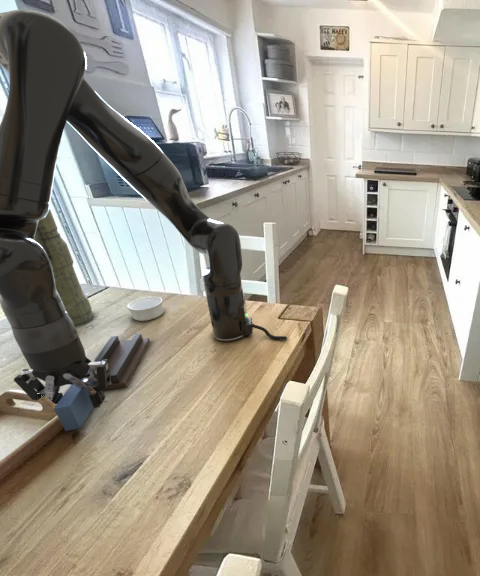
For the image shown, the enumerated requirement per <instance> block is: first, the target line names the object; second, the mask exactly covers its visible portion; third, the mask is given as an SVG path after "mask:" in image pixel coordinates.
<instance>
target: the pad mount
mask: <svg viewBox="0 0 480 576" xmlns="http://www.w3.org/2000/svg"><path fill="white" fill-rule="evenodd" d="M150 343H151V341H150V337H143V335H142V333H134V335H133V336H132V338H131V339H125V340H120V338H119V336H118V335H112V336H110V338H109V339H108V341H107V342H106V343H105V344H104V346H103V347H102V349H101V350H100V351H99V353H98V354H97V355H96V357H95V358H94V359H93V361H92V362H102V360H104V359H107V360H109V362H110V376H111V381H110V383H109V384H108V386H107V388H106V390H104V391H103V392H106V391H112V390H118V389H125V388H127V387H128V385H129V383H130V381H131V379H132V377H133V375H134V374H135V372H136V370H137V368H138V366H139V364H140V362H141V360H142V358H143V357H144V354H145V353H146V351H147V349H148V347H149V345H150ZM89 371H90V372H92V373H93V374H94V373H95V372H94V371H93V369H89ZM94 377H95V378H96V379H97V380H98V378H97V374H94Z"/></svg>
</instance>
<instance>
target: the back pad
mask: <svg viewBox="0 0 480 576" xmlns="http://www.w3.org/2000/svg"><path fill="white" fill-rule="evenodd" d="M82 380H84V378H83V379H82ZM90 385H91V384H90ZM93 409H94V406H93V404H92V402H91V400H90V398H89V393H88V392H86V391H85V390H84V389H79V388H78V387H77V386H76V385H74V384H73V385H70V386H69V387H68V388H67V390H66V391H65V393H64V394H63V397H62V398H61V399H60V401H59V402H58V403H57V405H56V406H55V408H54V410H55V411H54V412H55V414H56V416H57V418H58V420H59V421H60V424H61V426H62V427H63V429H64V431H65V432H69V431H75V430H81V428H82V427H83V426H84V424H85V422H86V420H87V419H88V417H89V415H90V414H91V412H92V410H93Z"/></svg>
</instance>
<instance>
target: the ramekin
mask: <svg viewBox="0 0 480 576" xmlns="http://www.w3.org/2000/svg"><path fill="white" fill-rule="evenodd" d="M163 301H164V300H163V298H162V297H160V296H151V295H150V296H143V297H139V298H136V299H134V300H132V301H130V302H129V303H128V304H127V306H126V308H127V309H128V311H129V313H130V314H131V317H132V318H133V319H134V320H135V321H140V322H144V321H145V322H146V321H150V320H154V319H157V318H159V317H160V316H161V315H163V313H164V305H163Z"/></svg>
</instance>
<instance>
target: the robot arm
mask: <svg viewBox="0 0 480 576" xmlns="http://www.w3.org/2000/svg"><path fill="white" fill-rule="evenodd" d="M87 63H88V62H87V56H86V52H85V49H84V47H83V46H82V44H81V42H80V40H79V39H78V37H77V36H76V34H74V32H73V31H72V30H71V29H70V28H69V27H67V25H65V24H64V23H63V22H62V21H61V20H59V19H58V18H55V17H54V16H52V15H50V14H48V13H44V12H41V11H38V10H33V9H13V10H10V11H9V10H8V11H5V12H4V11H3V12H0V66H1V68H3V70H5V71H6V72H7V73H8V74H9V75H8V76H9V83H8V85H9V86H8V95H7V102H6V105H5V110H4V113H3V116H2V119H1V121H0V307H1V310H2V312H3V313H4V315H5V317H6V319H7V322H8V323H9V325H10V328H11V331H12V335H13V337H14V340H15V341H16V342H15V343H16V344H17V345H18V347H19V349H20V351H21V353H22V355H23V357H24V359H25V361H26V363H27V364H28V366H29V368H30V369H29V368H23V369H22V370H21V371H20V372H19V373H18V374H17V375H16V376H15V377H14V378H13V381H14V383H16V384H17V386H18V387H20V389H21V390H22V391H23V392H24V393H25V394H26V395H27V396H28V397H29V398H30V399H31V400H32V401H39V400H41V399H40V398H41V395H42V396H43V395H44V396H45V399H44V401H46V402H48V401H50V400H51V401H52V402H53V403H55V404H57V403H58V402H59V401H60V399H61V398H62V397H63V395H64V394H63V393H62V392H60V390H61V387H63V386H67V385H68V386H69V385H70V386H71V385H73V384H74V385H76V386H77V387H78V388H79V389H84V390H85V391H86V392H88V393H89V398H90V400H91V402H92V404H93V406H94V407H93V409H98V408H100V407H101V406H102V405H103V403H104V402H105V399H106V397H105V395H104V392H105V391H104V390H106V388H107V386H108V384H109V383H110V381H111V376H110V362H109V360H107V359H104V360H102V362H93V361H92V360H91V359H89V357H87V355H86V350H85V347H84V345H83V343H82V340H81V339H80V336H79V334H78V333H79V332H78V330H77V328H76V326H74V324H73V321H72V320H71V318H70V317H69V315H68V314H67V312H66V309H65V307H64V305H63V302H62V300H61V298H60V296H59V294H58V292H57V290H56V284H55V279H54V274H53V269H52V266H51V263H50V260H49V258H48V256H47V254H46V252H45V250H44V249H43V248H42V246H41V245H40V244H38V243H37V242H36V241H34V239H35V233H36V229H37V225H38V221H39V220H41V219H43V218H44V217H46V215H47V213H48V210H49V209H50V203H51V198H52V191H53V186H54V179H55V172H56V166H57V159H58V155H59V150H60V146H61V143H62V138H63V135H64V131H65V128H66V124H67V123H68V124H69V126H71V127H72V128H73V129H74V130H75V131H76V132H77V133H78V134H79V135H80V137H82V139H83V140H84V141H85V142H86V143H87V144H88V145H89V146H90V147H91V148H92V149H93V150H94V151H95V152H96V153H97V154H98V155H99V157H101V158H102V159H103V160H104V161H105V162H106V163H107V164H108V165H109V166H110V167H111V168H112V169H113V170H114V171H115V172H116V173H117V174H118V175H119V176H120V177H121V178H122V179H123V180H124V181H125V182H126V183H127V184H128V185H129V186H130V187H131V188H132V189H133V190H134V191H136V192H137V194H139V195H140V196H141V197H142V198H144V199H145V201H146V202H148V203H149V204H150V205H151V206H152V207H153V208H154V209H155V210H156V211H158V212H159V213H160V214H161V215H163V216H164V217H165V218H166V219H167V220H168V221H169V222H170V223H171V224H172V226H174V228H175V229H176V231H177V232H178V233H179V234H180V235H181V237H182V238H184V240H185V242H187V244H189V246H190V247H191V248H192V249H194V250H195V252H197V253H200V254H202V255H205V256H207V257H208V263H209V267H206V268H204V270H203V271H202V273H201V277H202V282H203V287H204V293H205V297H206V303H207V307H208V312H209V317H210V318H209V319H210V323H211V328H212V334H213V335H212V336H213V338H214V339H215V340H216V341H219V342H234V341H238V340H240V339H242V338H246V337H248V336H249V334H253V330H254V329H256V330H259V331H262V332H264V333H265V335H266V336H267V337H268V338H270V339H272V340H283V341H284V340H285V341H286V340H288V336H285V335H273V334H271V333H270V332H269V331H268V329H267V328H265V327H263V326H261V325H258V324H255V323H254V322H253V317H248V310H247V304H246V298H245V296H244V290H243V282H242V275H241V274H242V273H241V272H242V269H243V257H242V244H241V238H240V235H239V232H238V230H237V229H236V227H234V226H233V225H232V224H230V223H226V222H222V221H219V220H214V219H212V218H210V216H208V215H207V214H206V213H205V212H204V211H202V209H201V208H199V206H198V205H197V204H196V203H195V202H194V201H193V199H192V198H191V197H190V194H189V192H188V190H187V186H186V183H185V181H184V179H183V176H182V174H181V173H180V171H179V169H178V168H177V167H176V165H175V164H174V163H173V162H172V160H170V159H169V157H168V156H167V155H166V154H165V153H164V151H163V150H162V149H161V148H160V146H158V145H157V144H156V143H155V141H154V140H152V139H151V138H150V137H149V136H148V135H146V133H144V132H143V131H142V130H141V129H140V128H139V127H137V126H136V125H134V124H133V123H132V122H130V121H129V120H128V119H127V118H125V117H124V116H123V115H121V114H120V113H119V112H118V111H116V110H115V109H114V108H113V107H111V106H110V105H109V104H108V103H107V102H106V101H105V100H104V99H103V98H102V97H101V96H100V95H99V94H98V93H97V92H96V90H94V88H93V87H92V85H90V83H89V82H88V81H87V80H86V79H85V78H84V77H85V74H86V72H87V66H88V65H87ZM89 369H93V371H94V372H95V373H94V374H97V378H98V380H97V379H96V378H95V377H94V374H93V373H92V372H90V371H89ZM83 378H84V380H82V379H83ZM42 381H43V382H45V383H42ZM44 384H45V385H44ZM90 384H91V385H90ZM106 391H107V390H106ZM37 393H40V394H37ZM44 396H43V397H44ZM46 399H47V400H46Z"/></svg>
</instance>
